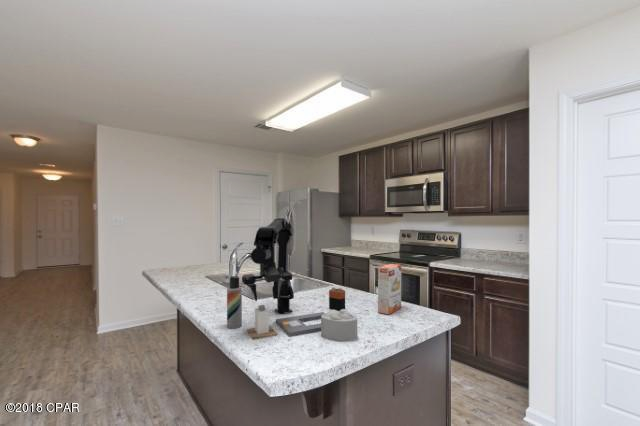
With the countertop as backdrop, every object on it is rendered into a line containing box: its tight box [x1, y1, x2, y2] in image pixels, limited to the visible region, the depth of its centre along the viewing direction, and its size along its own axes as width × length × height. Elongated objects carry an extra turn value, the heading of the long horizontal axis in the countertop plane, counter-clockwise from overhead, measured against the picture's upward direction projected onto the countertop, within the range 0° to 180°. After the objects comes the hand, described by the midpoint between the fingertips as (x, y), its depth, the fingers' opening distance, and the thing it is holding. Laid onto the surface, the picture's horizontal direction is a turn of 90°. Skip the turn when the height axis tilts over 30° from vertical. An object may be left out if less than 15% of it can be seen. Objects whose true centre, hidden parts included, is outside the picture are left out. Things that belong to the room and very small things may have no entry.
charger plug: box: [254, 304, 270, 334], centre depth 116 cm, size 5×4×10 cm
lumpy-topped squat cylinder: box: [320, 308, 359, 342], centre depth 113 cm, size 10×13×9 cm
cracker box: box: [377, 263, 402, 316], centre depth 143 cm, size 14×6×21 cm, turn 143°
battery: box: [328, 287, 346, 311], centre depth 146 cm, size 4×7×10 cm, turn 53°
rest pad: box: [246, 324, 278, 340], centre depth 116 cm, size 10×9×1 cm
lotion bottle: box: [226, 275, 243, 329], centre depth 124 cm, size 6×6×20 cm
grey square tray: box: [274, 311, 326, 338], centre depth 124 cm, size 17×22×2 cm
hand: (267, 299), depth 120 cm, fingers open, 9 cm apart
